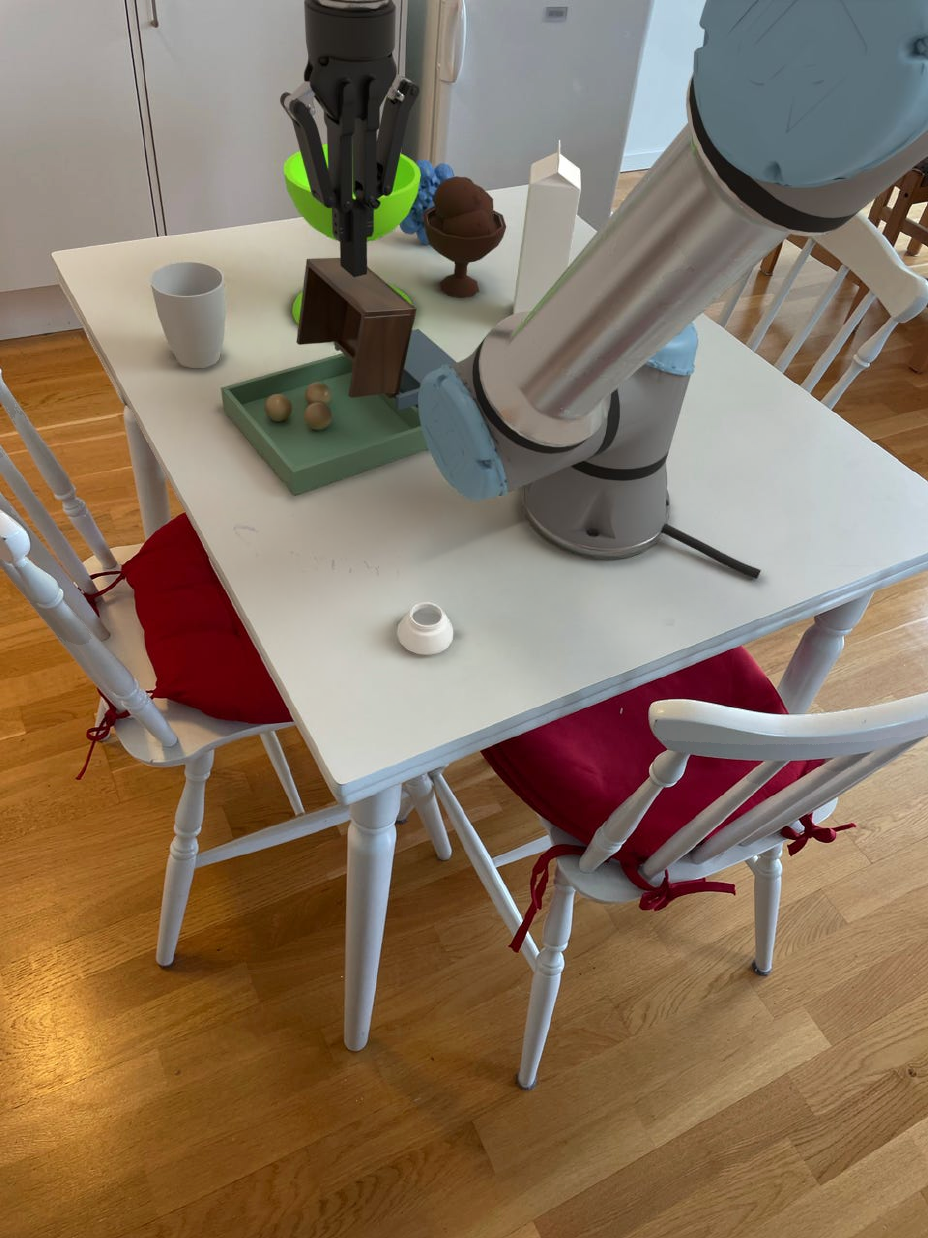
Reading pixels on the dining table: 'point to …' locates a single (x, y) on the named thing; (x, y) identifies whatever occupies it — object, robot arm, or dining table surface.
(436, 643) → the lidless jar
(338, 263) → the brown wooden box
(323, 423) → the wooden ball
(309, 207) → the wineglass
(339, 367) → the tray
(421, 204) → the grapes
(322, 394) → the wooden ball
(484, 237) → the ice cream bowl
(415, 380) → the stand
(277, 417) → the wooden ball
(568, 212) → the milk
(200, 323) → the cup
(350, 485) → the dining table surface
